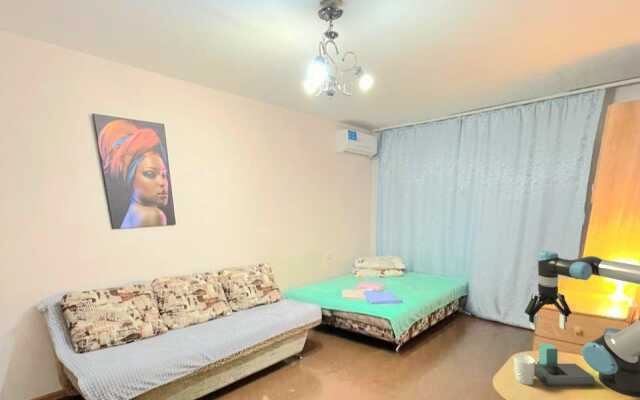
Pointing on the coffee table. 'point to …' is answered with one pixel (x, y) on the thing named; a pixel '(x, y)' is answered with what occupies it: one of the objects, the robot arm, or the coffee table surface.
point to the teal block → (547, 354)
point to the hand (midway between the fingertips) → (547, 328)
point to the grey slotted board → (563, 375)
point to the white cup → (524, 368)
